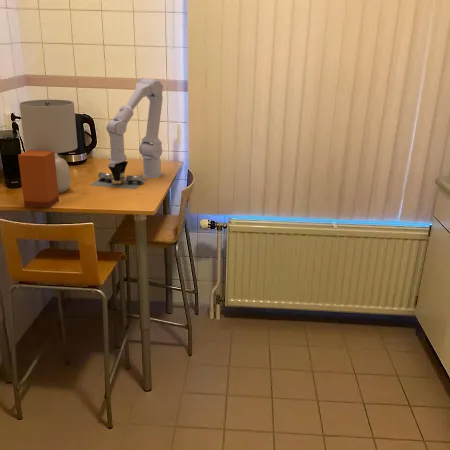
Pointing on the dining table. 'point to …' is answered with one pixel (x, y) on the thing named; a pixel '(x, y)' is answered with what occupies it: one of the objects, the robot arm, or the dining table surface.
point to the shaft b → (134, 179)
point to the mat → (123, 185)
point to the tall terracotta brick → (38, 178)
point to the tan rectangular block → (119, 180)
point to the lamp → (50, 132)
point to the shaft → (104, 177)
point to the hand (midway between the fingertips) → (119, 179)
